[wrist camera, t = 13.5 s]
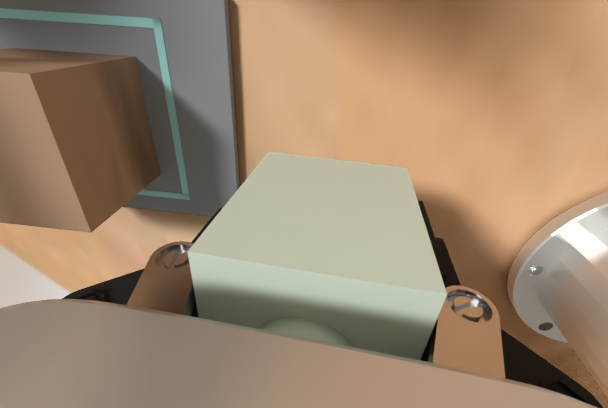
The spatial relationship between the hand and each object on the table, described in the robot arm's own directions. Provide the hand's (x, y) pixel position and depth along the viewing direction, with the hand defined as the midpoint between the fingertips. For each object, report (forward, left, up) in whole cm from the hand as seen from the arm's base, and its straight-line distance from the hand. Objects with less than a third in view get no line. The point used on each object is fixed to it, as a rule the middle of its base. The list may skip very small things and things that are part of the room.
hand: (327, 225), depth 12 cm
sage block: (0, 0, -1) cm, 1 cm away
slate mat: (+14, -1, -7) cm, 15 cm away
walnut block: (+14, -1, -6) cm, 15 cm away
